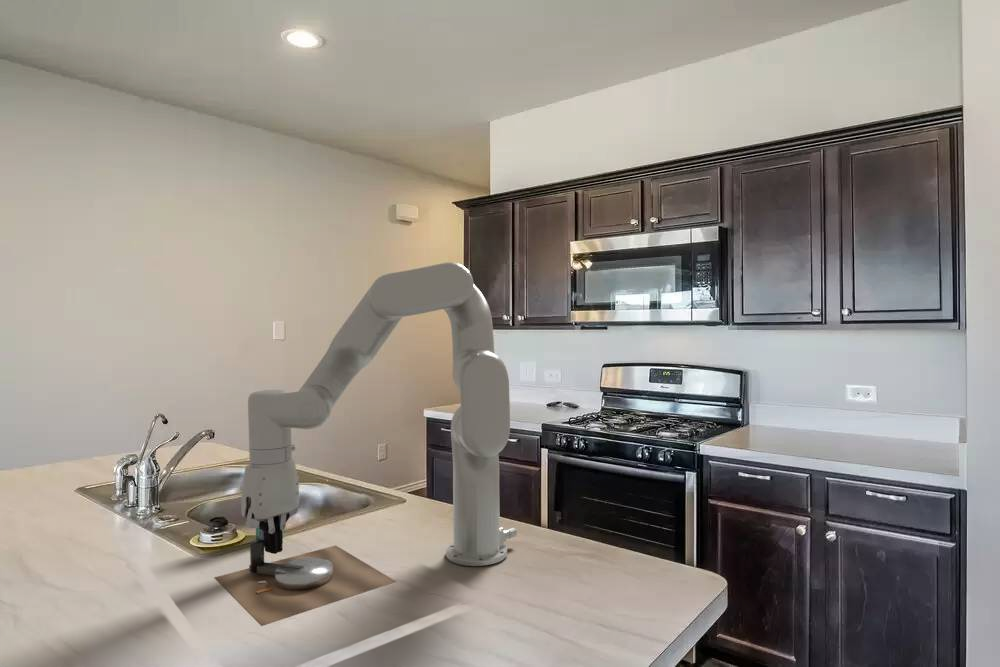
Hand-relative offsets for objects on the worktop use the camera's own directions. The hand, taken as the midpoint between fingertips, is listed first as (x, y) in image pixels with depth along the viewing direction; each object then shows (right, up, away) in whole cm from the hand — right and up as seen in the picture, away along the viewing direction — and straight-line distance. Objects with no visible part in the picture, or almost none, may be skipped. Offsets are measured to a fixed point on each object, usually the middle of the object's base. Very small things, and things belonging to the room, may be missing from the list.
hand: (273, 551), depth 116 cm
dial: (+5, -3, -4) cm, 7 cm away
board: (+8, -5, -5) cm, 10 cm away
